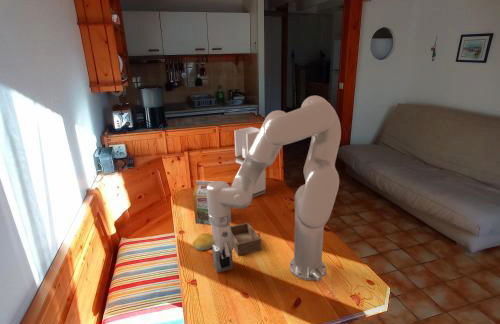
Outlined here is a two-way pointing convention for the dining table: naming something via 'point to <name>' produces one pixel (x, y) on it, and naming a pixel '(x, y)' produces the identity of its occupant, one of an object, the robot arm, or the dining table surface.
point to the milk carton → (201, 202)
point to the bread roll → (203, 241)
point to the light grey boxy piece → (242, 146)
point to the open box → (245, 239)
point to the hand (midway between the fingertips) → (223, 261)
